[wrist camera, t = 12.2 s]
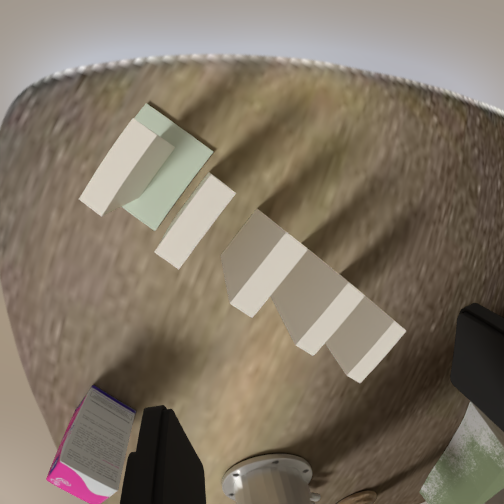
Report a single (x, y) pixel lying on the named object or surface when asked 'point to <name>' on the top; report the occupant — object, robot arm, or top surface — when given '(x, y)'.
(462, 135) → the top surface
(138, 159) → the end domino
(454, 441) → the grocery bag
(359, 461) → the top surface
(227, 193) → the domino
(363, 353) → the domino
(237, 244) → the domino
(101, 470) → the supplement box
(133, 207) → the end pad
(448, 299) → the top surface
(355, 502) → the candle holder
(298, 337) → the domino
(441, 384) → the top surface
